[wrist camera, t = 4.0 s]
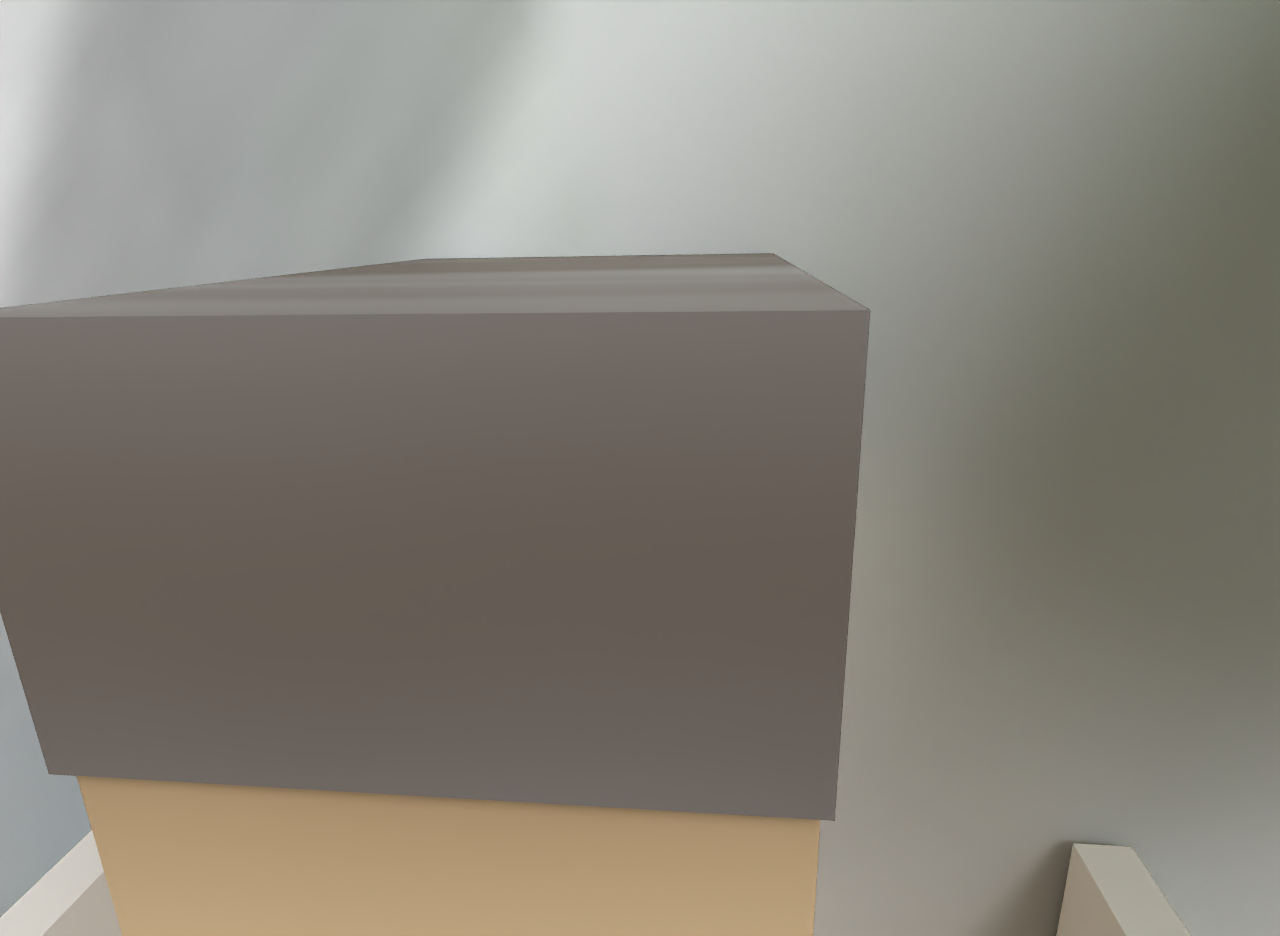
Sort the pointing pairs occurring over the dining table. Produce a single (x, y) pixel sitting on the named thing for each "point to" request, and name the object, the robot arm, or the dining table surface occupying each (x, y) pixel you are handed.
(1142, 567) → the dining table surface
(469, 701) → the block
